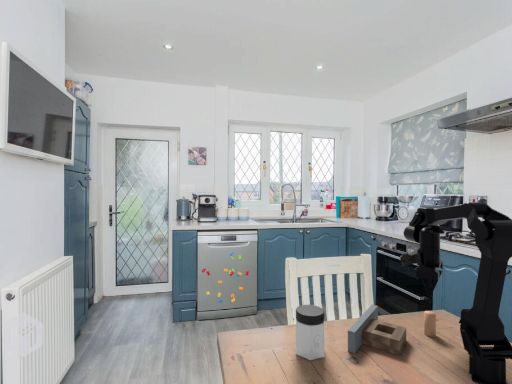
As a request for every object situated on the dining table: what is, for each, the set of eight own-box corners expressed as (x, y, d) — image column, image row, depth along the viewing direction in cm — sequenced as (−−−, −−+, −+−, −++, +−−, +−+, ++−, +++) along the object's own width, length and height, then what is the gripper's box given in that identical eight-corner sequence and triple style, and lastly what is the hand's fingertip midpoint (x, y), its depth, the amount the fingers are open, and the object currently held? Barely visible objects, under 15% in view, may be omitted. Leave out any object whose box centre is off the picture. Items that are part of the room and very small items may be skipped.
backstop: (377, 323, 98) (377, 306, 98) (354, 353, 79) (354, 332, 79) (371, 321, 99) (371, 304, 99) (347, 351, 80) (347, 330, 80)
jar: (303, 362, 75) (303, 318, 75) (289, 347, 82) (289, 306, 83) (331, 356, 78) (331, 313, 78) (316, 342, 85) (315, 302, 86)
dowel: (436, 334, 90) (436, 312, 90) (435, 338, 88) (435, 315, 88) (425, 331, 92) (424, 310, 92) (423, 335, 90) (423, 313, 90)
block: (406, 340, 86) (406, 327, 86) (399, 355, 78) (399, 341, 78) (372, 330, 92) (372, 318, 92) (363, 343, 85) (363, 330, 85)
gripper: (407, 239, 103) (407, 282, 102) (395, 247, 88) (396, 296, 88) (443, 243, 96) (443, 288, 95) (437, 251, 81) (438, 305, 81)
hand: (429, 294), depth 90 cm, fingers open, 4 cm apart
